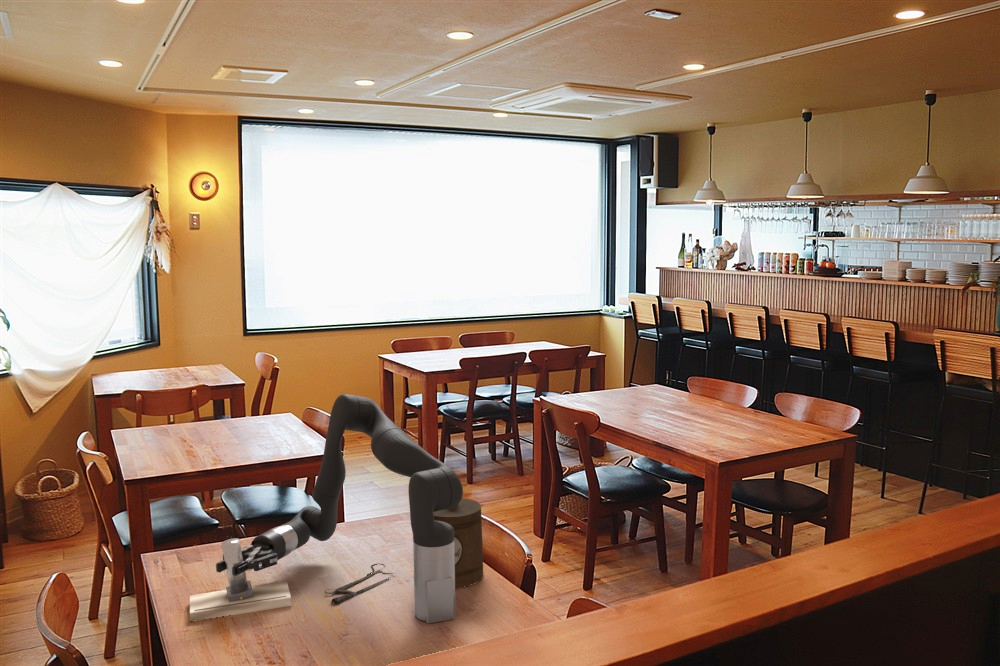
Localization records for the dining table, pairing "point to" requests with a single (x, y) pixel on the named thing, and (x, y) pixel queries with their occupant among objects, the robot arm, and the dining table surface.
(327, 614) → the dining table surface
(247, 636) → the dining table surface
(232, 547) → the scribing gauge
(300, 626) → the dining table surface
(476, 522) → the wooden container
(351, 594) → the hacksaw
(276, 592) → the birch board
